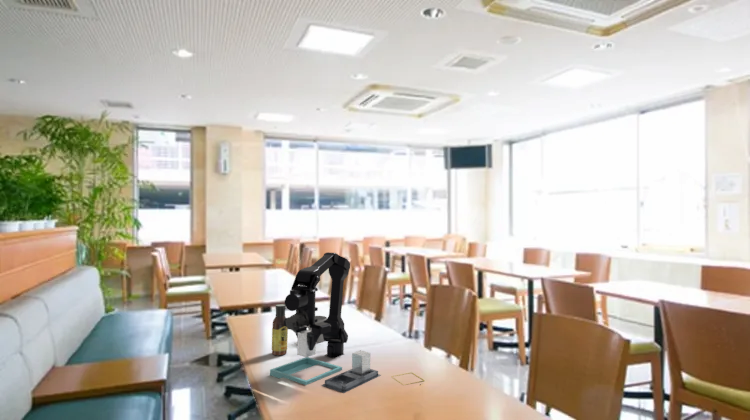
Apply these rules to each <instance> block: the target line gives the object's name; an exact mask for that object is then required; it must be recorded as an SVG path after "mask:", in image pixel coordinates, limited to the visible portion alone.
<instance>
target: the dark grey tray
mask: <svg viewBox="0 0 750 420" xmlns="http://www.w3.org/2000/svg"><path fill="white" fill-rule="evenodd" d="M380 376H382V374H379V371H378V370H376V369H372V368H370V373H369V374H367V375H365V376H363V377H362V376H359V375H356V374H352V368H350V369H347V370H346V371H344V372H341V373H339V374H337V375H334V376H332V377H330V378H329V377H328V378H327V379H325V380H324V383H323V384H321V386H322V387H324V388H328V389H329V390H334V391H335V392H336V391H337V392H340V393H342V394H345V393H348V392H350V391H351V390H354V389H355V388H358V387H360V386H362V385H364V384H366V383H368V382H371V381H373V380H374V379H376V378H378V377H380Z"/></svg>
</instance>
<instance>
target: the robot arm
mask: <svg viewBox="0 0 750 420" xmlns="http://www.w3.org/2000/svg"><path fill="white" fill-rule="evenodd" d="M350 269H351V262H350V261H349V260H348V259H347V258H345V257H343V256H341V255H339V254H338V253H337V252H330V251H329V252H324V253H323V255H322V256H321V257H320V258H319V259H317V261H316V262H314V263H313V264H312V265H311V266H307V267H304V268H301V269H299V271H298V272H297V273H296V276H295V277H294V281H293V283H292V285H291V289H290V290H289V294H287V296H285V298H284V305H285V306H286V308H285V309H286V310H288V311H289V312H290V311H291V312H293V311H294V312H295V313H294V314H292V315H290V316H288V317H286V318H285V320H284V326H286V327H287V328H288V330H290V331H293V332H294V334H295V335H296V338H297V340H298V332H300V331H304V330H308V328H311V332H307V334H308V335H309V344H310V350H313V349H314V346H315V344H317V343H316V342H317V340H318V338H319V336H320V335H321V334H323V339H324V342H327V346H326V354H324V356H325V357H328V358H332V359H336V358H338V357H339V358H340V357H341V356H344V355H345V353H344V352H345V351H344V345H345V344H347V342H348V340H349V334H348V333H347V331H346V329H345V323H344V320H343V318H342V307H343V296H344V295H343V294H344V286H345V285H344V283H345V281H346V278H347V277H348V275H349V272H350ZM327 270H328V274H329V276H330V278H331V288H330V299H329V309H328V310H329V311H328V317H327V319H326V320H324V322H321V323H317V324H315V322H317V319H315V316H316V312H317V311H318V310H319V309H318V307H317V306H316V292H318V291H319V289H318V287H317V285H318V284H319V283H320V281H321V276H322V275H323V274H324V273H325V272H326V271H327Z"/></svg>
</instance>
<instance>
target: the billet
mask: <svg viewBox="0 0 750 420" xmlns="http://www.w3.org/2000/svg"><path fill="white" fill-rule="evenodd" d="M307 332H311V331H310V330H308V329H307V330H304V331H300V332H298V339H297V356H300V357H302V358H305V357H309V358H310V357H311V356H312V357H313V356H314V355H316V347H317V346H316V344H317V343H316V344H315V346H314V349H313V350H310V344H309V335H308V334H307Z"/></svg>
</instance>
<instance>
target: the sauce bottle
mask: <svg viewBox="0 0 750 420" xmlns="http://www.w3.org/2000/svg"><path fill="white" fill-rule="evenodd" d="M286 309H287V308H286V306H285V303H284V304H282V303H281V304H276V305H275V317H274V319H273V320H272V329H271V350H272V351H271V354H272V355H273V356H283V355H286V354H287V352H288V351H287V350H288V331H289V329H288V328H287V327H286V326H284V320H285V318H287V317H286Z"/></svg>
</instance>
